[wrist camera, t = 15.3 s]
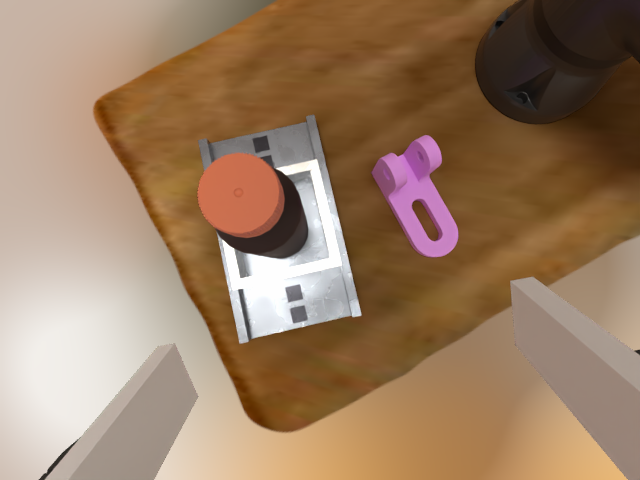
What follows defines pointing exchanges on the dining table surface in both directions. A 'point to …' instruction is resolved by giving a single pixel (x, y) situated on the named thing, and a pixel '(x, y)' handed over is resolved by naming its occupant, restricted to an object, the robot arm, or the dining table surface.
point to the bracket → (417, 195)
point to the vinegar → (253, 206)
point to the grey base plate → (303, 267)
